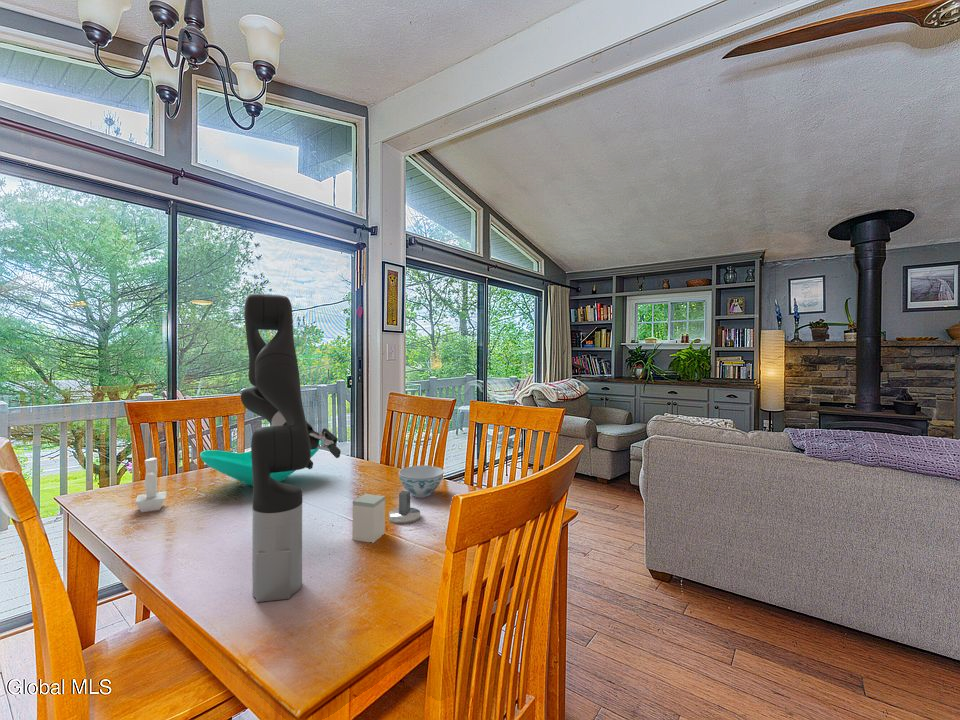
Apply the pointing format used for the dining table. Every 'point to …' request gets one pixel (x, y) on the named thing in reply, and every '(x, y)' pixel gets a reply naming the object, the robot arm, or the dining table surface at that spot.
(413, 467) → the chinaware
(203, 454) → the table top decor
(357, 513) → the pale green block
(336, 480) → the dining table surface
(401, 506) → the grey post on dish
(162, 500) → the figurine
